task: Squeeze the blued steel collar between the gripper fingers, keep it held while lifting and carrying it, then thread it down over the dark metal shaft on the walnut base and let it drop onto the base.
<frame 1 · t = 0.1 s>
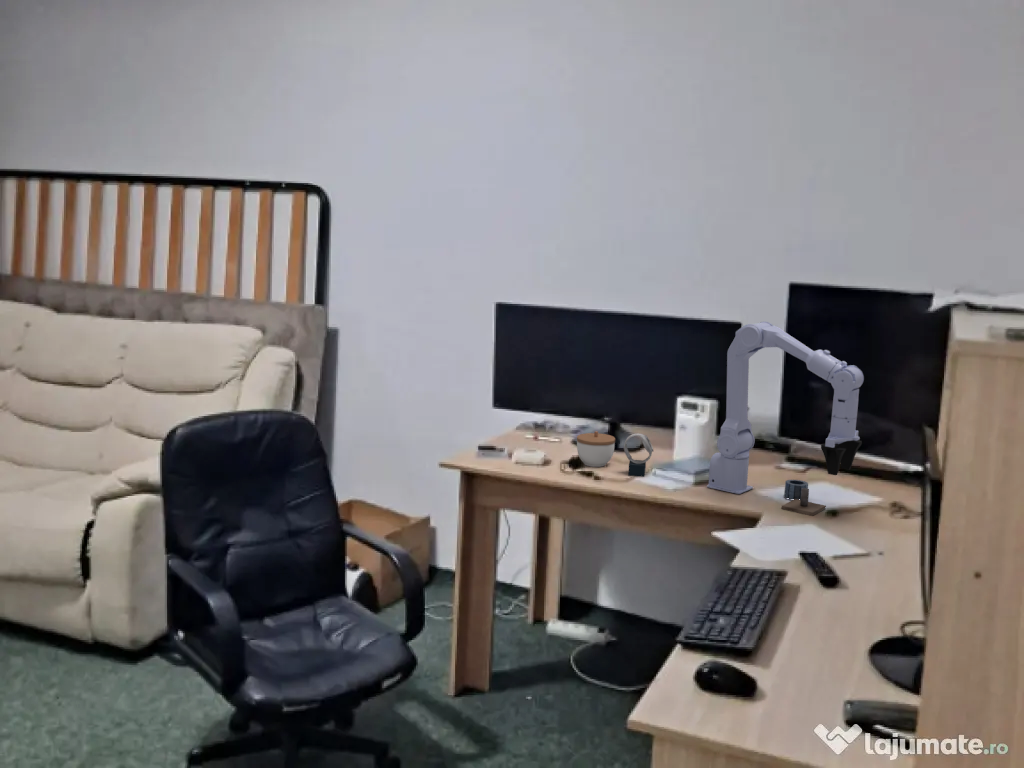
hand: (839, 471, 248), 10 cm above the table, tool pointing down, fingers open, 7 cm apart
lidded jar: (594, 464, 288), on the table
collar: (795, 497, 261), on the table
watch: (637, 474, 279), on the table
shaft base: (803, 508, 252), on the table
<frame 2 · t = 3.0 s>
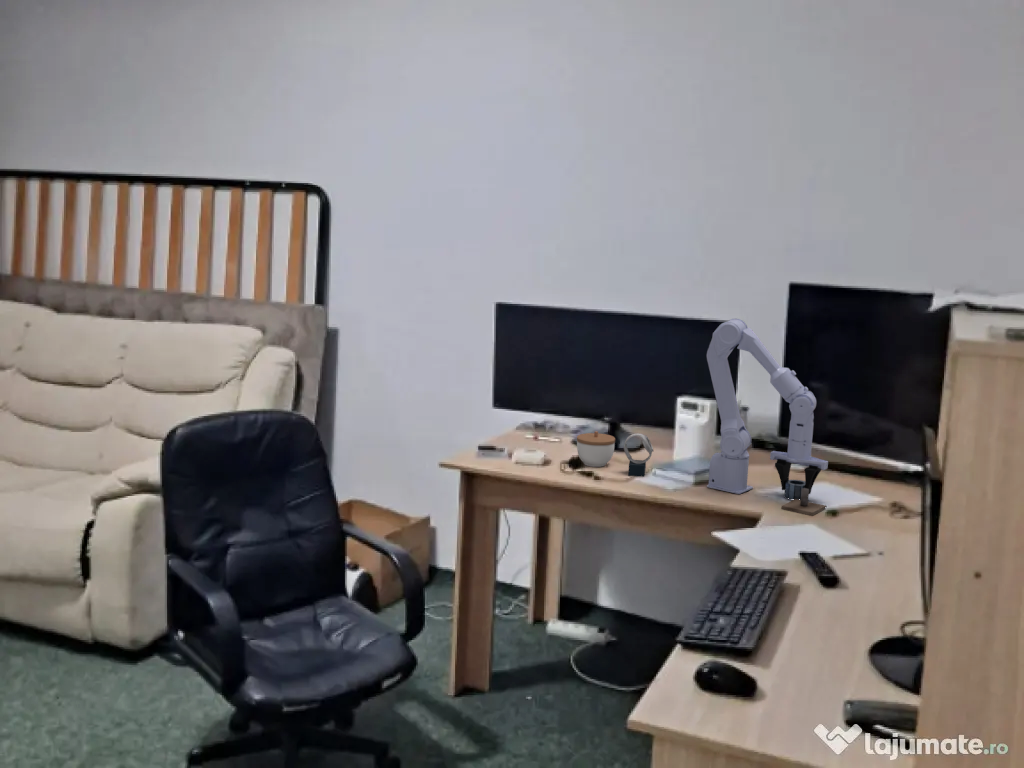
hand: (796, 491, 261), 2 cm above the table, tool pointing down, fingers closed on collar, 5 cm apart
collar: (795, 497, 261), on the table, touching gripper
everything else where it was.
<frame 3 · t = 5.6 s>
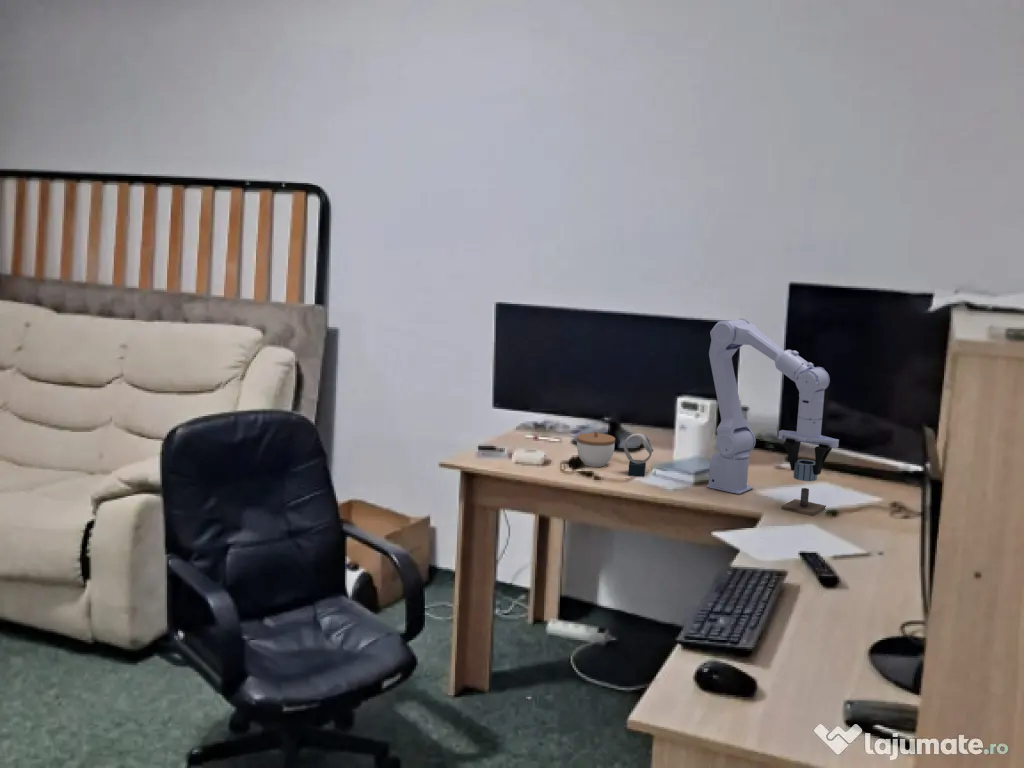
hand: (805, 471, 251), 9 cm above the table, tool pointing down, fingers closed on collar, 5 cm apart
collar: (805, 478, 252), point 7 cm above the table, touching gripper
everything else where it was.
when the fingers open (3 cm above the table, at t = 8.1 s): collar stays where it is, resting on shaft base.
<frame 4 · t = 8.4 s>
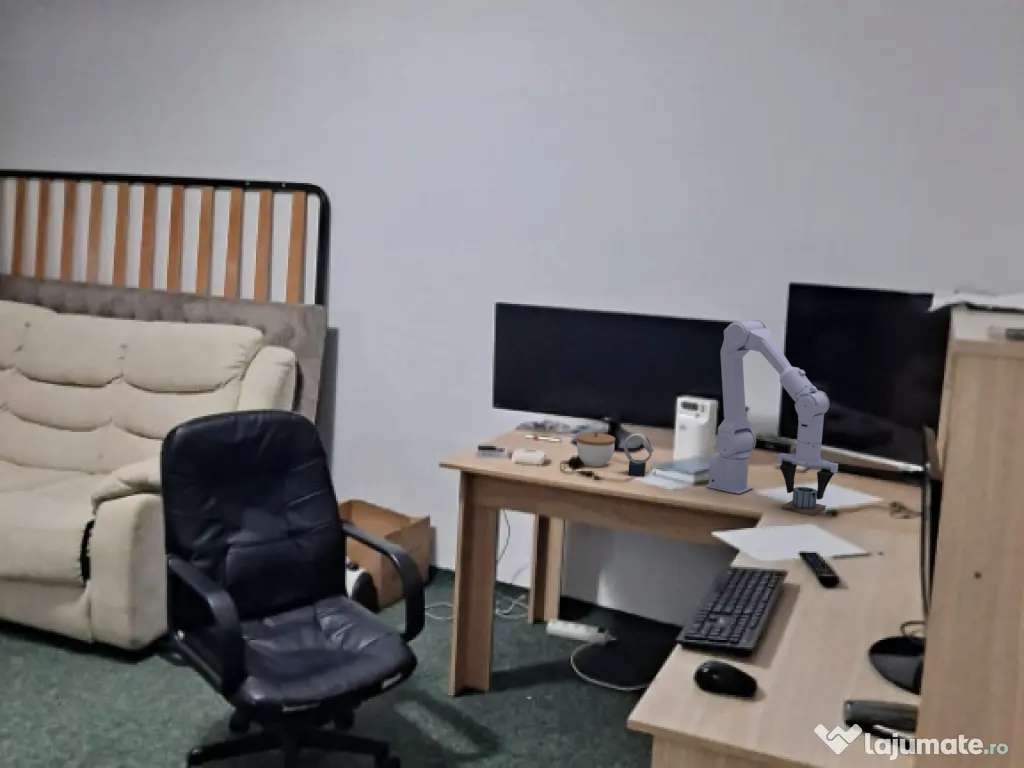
hand: (804, 495, 251), 3 cm above the table, tool pointing down, fingers open, 7 cm apart
collar: (803, 505, 251), point 1 cm above the table, touching shaft base
everything else where it was.
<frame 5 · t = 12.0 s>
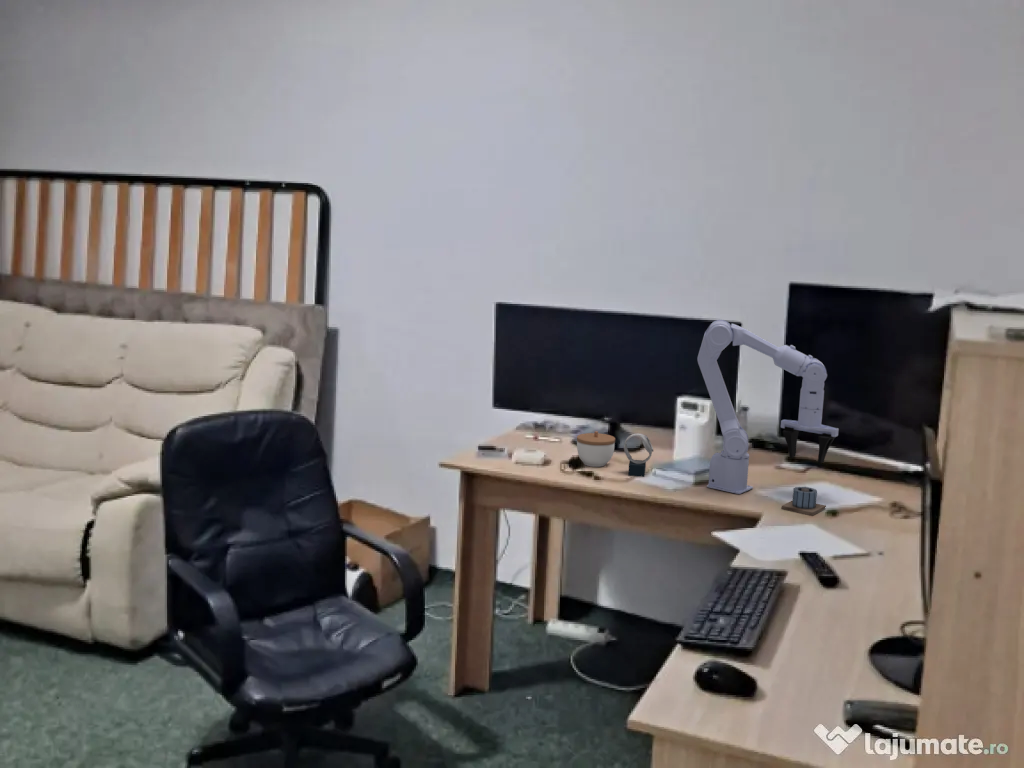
hand: (806, 459, 262), 9 cm above the table, tool pointing down, fingers open, 7 cm apart
nothing on the table moved.
at the end: collar 0.0 cm off-centre on the shaft base, point 0.8 cm above the shaft base's base; collar tilted 0°; the gripper is holding nothing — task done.
